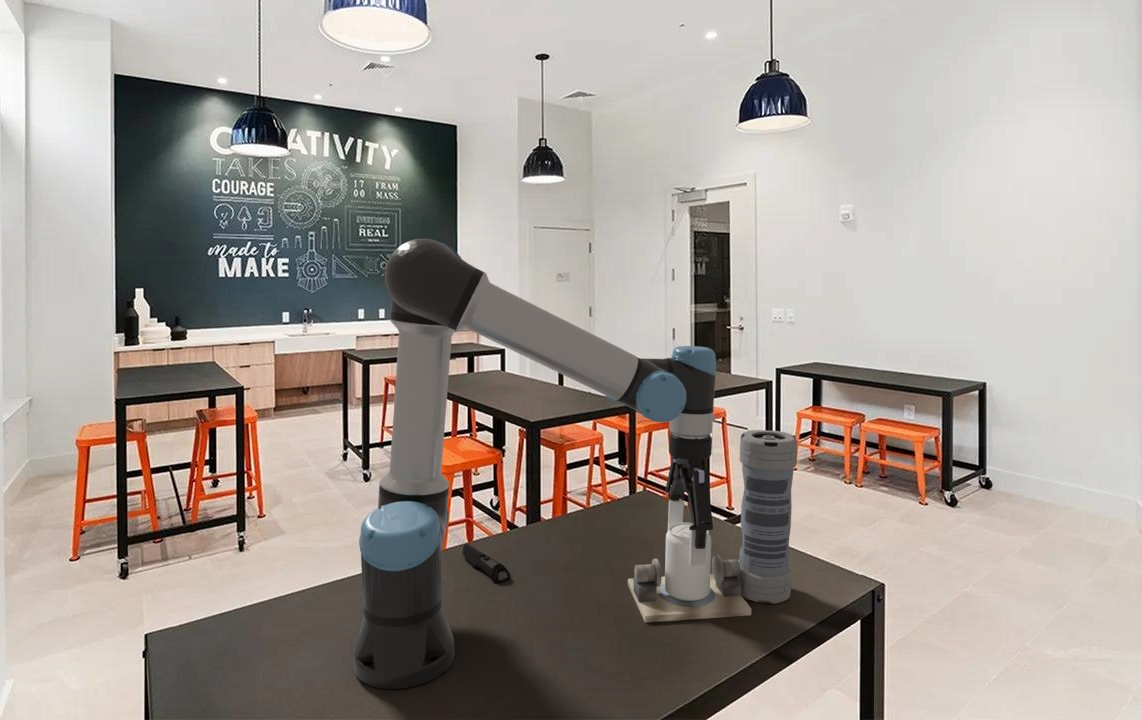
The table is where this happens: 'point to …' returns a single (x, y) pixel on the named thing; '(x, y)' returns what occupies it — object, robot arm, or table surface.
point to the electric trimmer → (486, 564)
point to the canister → (766, 514)
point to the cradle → (668, 608)
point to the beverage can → (685, 566)
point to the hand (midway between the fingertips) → (685, 548)
